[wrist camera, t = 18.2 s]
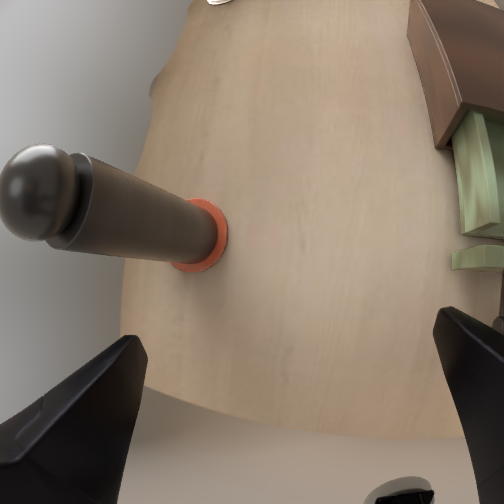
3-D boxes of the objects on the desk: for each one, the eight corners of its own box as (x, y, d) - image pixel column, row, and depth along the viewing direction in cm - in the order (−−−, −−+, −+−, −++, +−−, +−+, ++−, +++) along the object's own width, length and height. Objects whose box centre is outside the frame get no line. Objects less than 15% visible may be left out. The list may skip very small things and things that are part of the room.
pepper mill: (229, 233, 22) (33, 160, 6) (191, 276, 22) (-10, 266, 7) (193, 196, 23) (20, 110, 8) (159, 237, 24) (-20, 196, 8)
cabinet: (546, 171, 14) (586, 144, 7) (434, 148, 18) (462, 101, 11) (508, 59, 14) (527, 21, 8) (406, 34, 18) (410, -16, 12)
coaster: (228, 271, 22) (226, 271, 22) (163, 272, 24) (161, 272, 23) (228, 195, 22) (225, 193, 22) (165, 204, 24) (162, 203, 24)
